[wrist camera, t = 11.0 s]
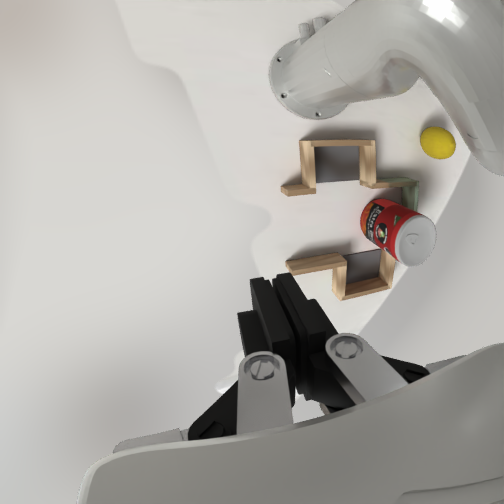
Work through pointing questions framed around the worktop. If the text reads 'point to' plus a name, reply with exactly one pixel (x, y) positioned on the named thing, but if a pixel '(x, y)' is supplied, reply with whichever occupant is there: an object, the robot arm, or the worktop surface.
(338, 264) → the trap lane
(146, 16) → the worktop surface
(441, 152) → the lemon
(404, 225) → the canned food
